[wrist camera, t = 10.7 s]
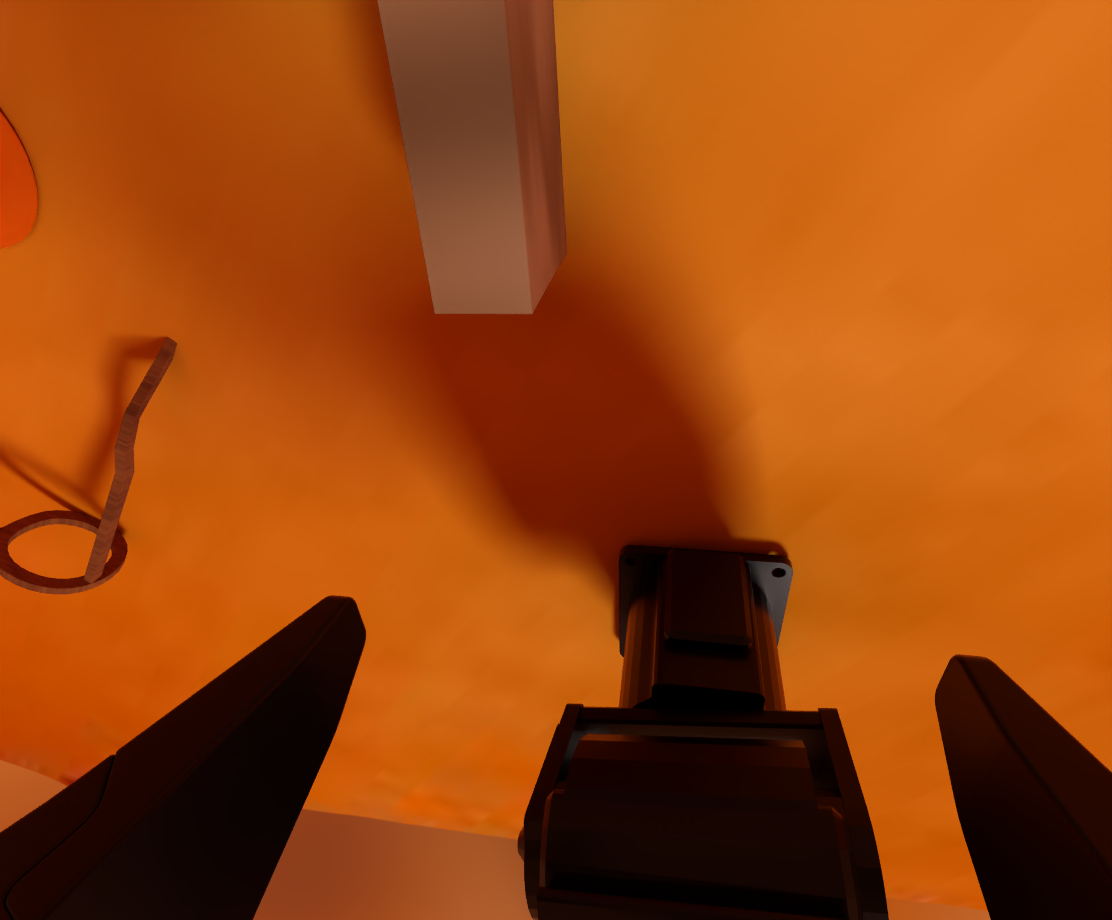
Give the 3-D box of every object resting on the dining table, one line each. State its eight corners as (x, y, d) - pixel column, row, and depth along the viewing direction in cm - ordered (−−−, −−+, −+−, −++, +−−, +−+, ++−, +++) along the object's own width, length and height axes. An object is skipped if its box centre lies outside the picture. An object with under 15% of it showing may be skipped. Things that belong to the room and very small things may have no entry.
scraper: (770, 249, 17) (794, 315, 13) (316, 256, 20) (220, 313, 16) (831, -234, 12) (904, -371, 8) (205, -140, 15) (20, -208, 10)
